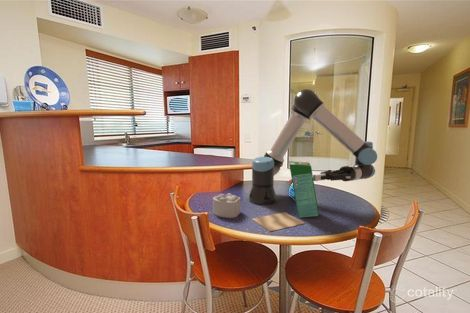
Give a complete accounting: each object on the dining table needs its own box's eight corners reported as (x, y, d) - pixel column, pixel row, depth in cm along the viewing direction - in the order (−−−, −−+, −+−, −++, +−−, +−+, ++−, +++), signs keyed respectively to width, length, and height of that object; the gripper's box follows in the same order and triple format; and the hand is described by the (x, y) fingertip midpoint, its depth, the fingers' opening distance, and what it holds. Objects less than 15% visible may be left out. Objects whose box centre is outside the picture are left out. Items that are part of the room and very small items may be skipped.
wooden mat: (284, 212, 117) (284, 212, 117) (305, 223, 105) (305, 222, 105) (252, 219, 109) (252, 218, 109) (269, 231, 97) (269, 231, 97)
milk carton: (319, 215, 109) (310, 160, 106) (298, 217, 111) (289, 164, 108) (316, 208, 118) (308, 157, 115) (297, 210, 120) (288, 160, 117)
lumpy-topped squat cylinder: (234, 218, 110) (234, 200, 109) (208, 214, 115) (208, 196, 114) (242, 211, 120) (242, 193, 118) (218, 207, 124) (218, 191, 123)
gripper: (339, 163, 129) (304, 167, 118) (361, 168, 117) (325, 172, 107) (338, 177, 130) (304, 182, 119) (360, 183, 118) (324, 189, 108)
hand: (314, 177), depth 113 cm, fingers closed
